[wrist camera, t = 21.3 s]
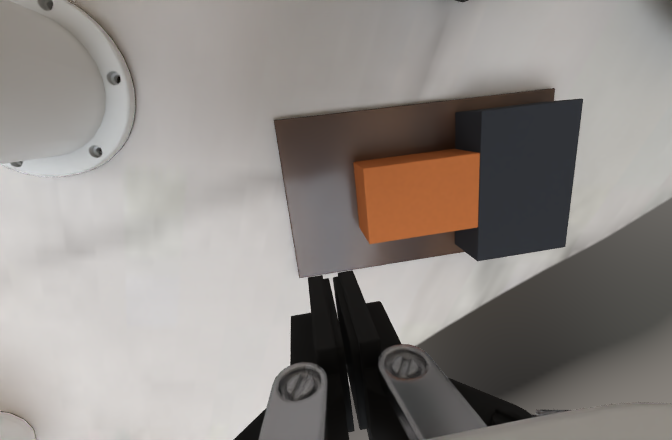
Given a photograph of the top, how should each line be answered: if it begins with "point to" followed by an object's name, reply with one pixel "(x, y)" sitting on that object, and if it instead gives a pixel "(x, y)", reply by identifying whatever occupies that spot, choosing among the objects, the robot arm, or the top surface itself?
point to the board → (339, 180)
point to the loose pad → (417, 194)
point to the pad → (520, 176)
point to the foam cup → (15, 428)
